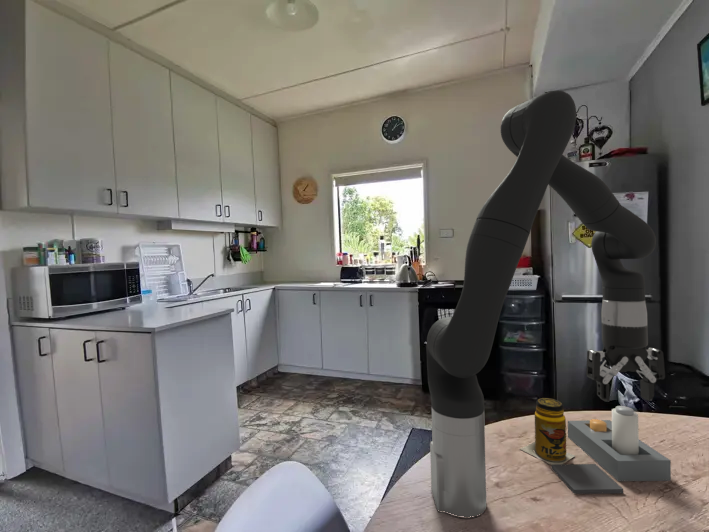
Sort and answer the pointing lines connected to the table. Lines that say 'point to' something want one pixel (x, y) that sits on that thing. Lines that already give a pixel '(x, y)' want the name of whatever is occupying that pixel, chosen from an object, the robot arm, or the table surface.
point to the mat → (586, 479)
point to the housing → (619, 466)
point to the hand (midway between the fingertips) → (625, 399)
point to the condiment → (549, 433)
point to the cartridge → (625, 431)
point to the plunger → (598, 425)
